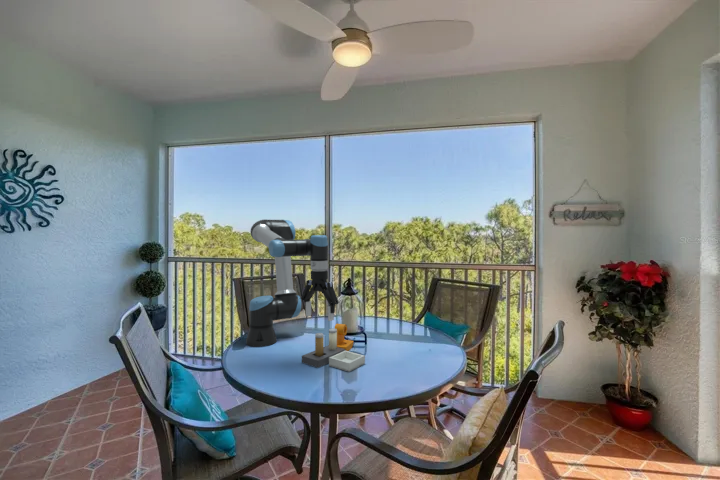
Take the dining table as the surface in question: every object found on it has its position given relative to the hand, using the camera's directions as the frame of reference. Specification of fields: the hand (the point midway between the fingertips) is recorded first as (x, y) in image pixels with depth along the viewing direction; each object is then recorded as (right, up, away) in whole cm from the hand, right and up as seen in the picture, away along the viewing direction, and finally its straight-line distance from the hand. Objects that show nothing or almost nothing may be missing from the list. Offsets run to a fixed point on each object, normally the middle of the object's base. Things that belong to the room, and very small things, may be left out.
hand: (319, 318), depth 153 cm
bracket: (+10, -19, +17) cm, 27 cm away
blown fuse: (0, -19, +1) cm, 19 cm away
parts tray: (+12, -19, -4) cm, 23 cm away
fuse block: (+2, -19, +3) cm, 19 cm away
